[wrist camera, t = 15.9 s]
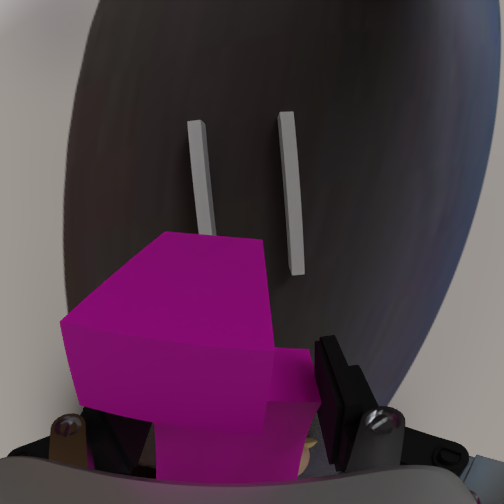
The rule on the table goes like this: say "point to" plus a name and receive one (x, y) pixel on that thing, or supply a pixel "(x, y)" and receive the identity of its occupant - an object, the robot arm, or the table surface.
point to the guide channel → (289, 185)
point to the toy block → (196, 360)
